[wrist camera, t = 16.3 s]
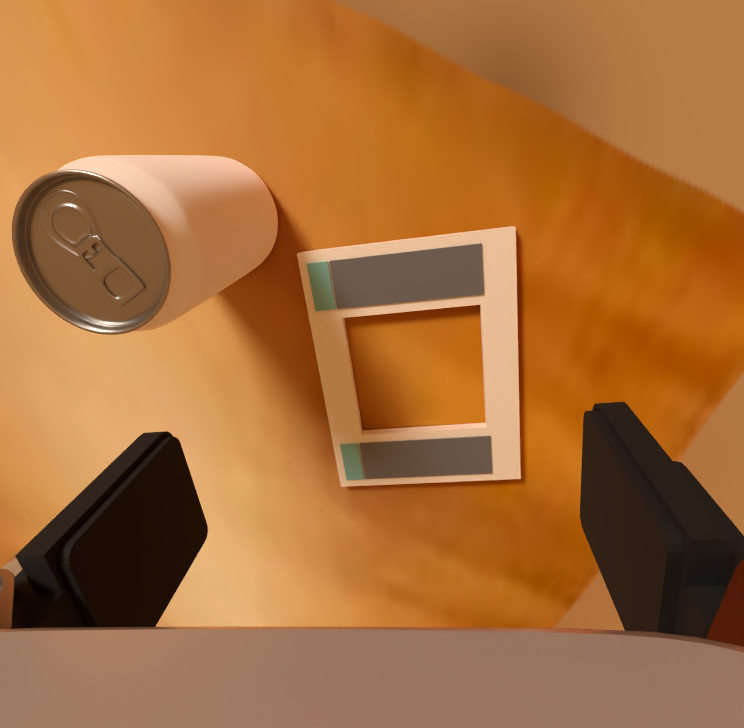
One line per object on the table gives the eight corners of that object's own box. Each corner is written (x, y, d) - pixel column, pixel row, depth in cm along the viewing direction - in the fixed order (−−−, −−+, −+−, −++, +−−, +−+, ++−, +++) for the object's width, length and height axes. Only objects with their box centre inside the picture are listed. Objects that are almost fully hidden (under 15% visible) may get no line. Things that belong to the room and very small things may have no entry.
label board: (518, 473, 32) (521, 479, 31) (342, 481, 34) (340, 487, 33) (513, 226, 26) (516, 227, 25) (299, 252, 28) (296, 254, 27)
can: (231, 129, 26) (83, 109, 15) (303, 234, 27) (219, 286, 16) (147, 200, 28) (-39, 229, 17) (219, 294, 29) (95, 376, 18)
